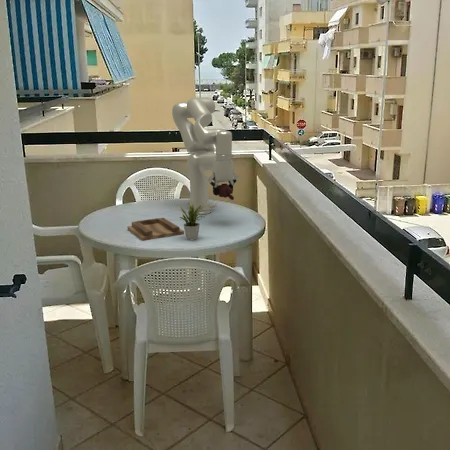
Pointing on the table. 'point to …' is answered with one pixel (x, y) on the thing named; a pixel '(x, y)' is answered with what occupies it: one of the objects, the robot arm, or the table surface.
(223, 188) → the icecream
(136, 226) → the cradle
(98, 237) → the table surface
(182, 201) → the table surface
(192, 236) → the house plant
